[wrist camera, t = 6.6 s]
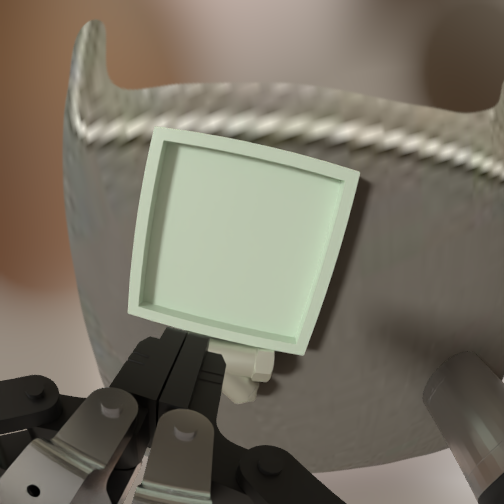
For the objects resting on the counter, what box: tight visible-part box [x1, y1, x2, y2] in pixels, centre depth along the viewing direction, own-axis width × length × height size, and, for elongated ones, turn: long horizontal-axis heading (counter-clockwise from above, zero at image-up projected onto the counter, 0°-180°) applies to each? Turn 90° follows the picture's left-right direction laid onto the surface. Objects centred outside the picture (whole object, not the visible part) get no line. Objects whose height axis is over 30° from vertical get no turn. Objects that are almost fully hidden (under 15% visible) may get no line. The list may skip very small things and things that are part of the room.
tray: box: [128, 126, 360, 356], centre depth 23 cm, size 16×16×2 cm
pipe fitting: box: [186, 330, 275, 404], centre depth 26 cm, size 8×4×7 cm
